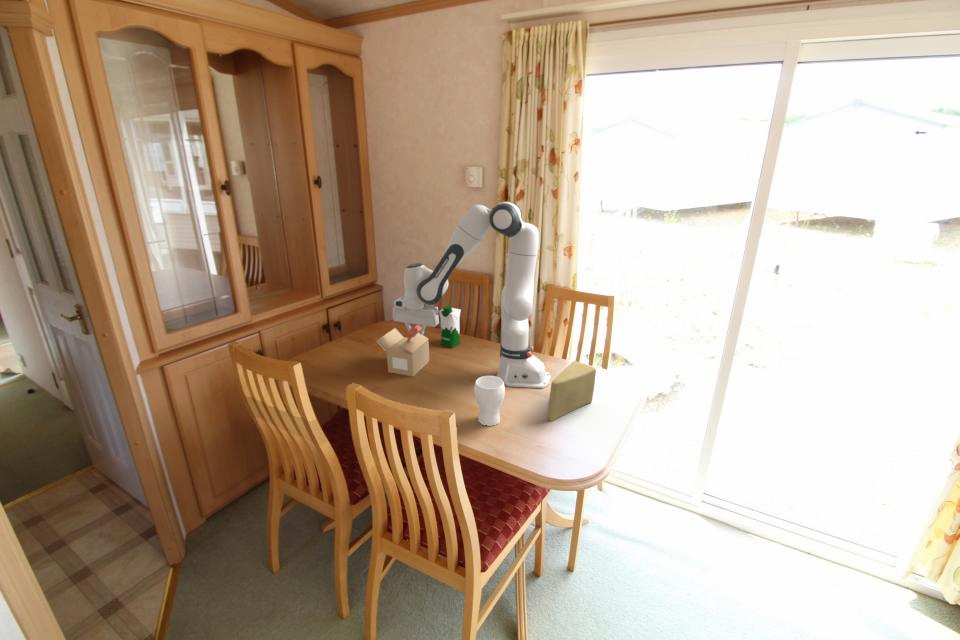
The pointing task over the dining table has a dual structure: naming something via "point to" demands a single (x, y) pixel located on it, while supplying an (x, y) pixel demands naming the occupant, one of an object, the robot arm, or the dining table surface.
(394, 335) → the open flap
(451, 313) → the milk carton
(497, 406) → the cup
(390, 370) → the carton
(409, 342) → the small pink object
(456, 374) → the dining table surface
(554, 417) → the cheese
